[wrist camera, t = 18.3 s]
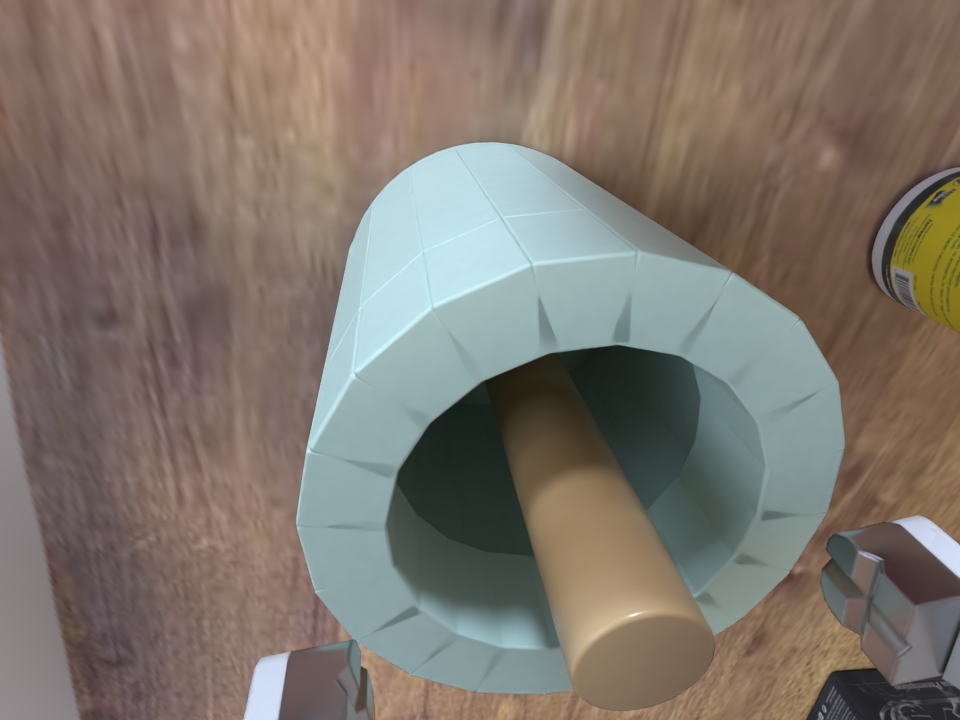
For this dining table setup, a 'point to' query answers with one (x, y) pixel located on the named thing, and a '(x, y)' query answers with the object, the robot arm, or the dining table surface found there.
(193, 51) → the dining table surface
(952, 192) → the pill bottle
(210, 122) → the dining table surface
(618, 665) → the beige handle with collar
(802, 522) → the mint green tube
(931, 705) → the small box
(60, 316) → the dining table surface
